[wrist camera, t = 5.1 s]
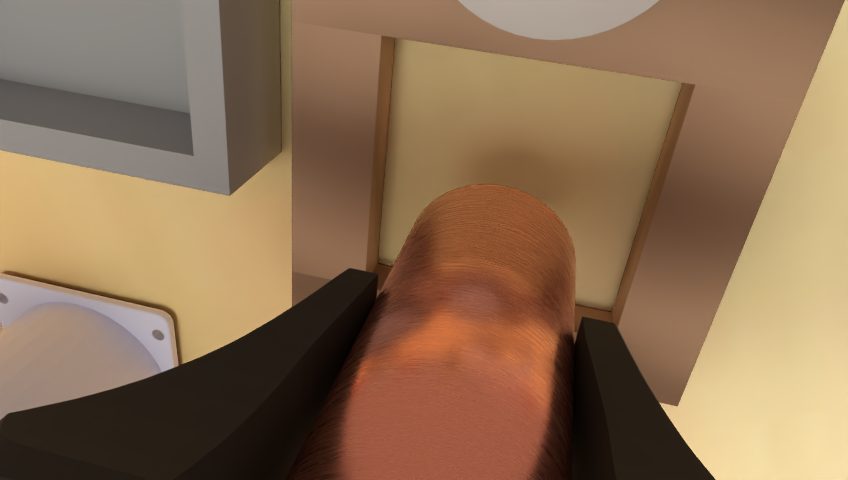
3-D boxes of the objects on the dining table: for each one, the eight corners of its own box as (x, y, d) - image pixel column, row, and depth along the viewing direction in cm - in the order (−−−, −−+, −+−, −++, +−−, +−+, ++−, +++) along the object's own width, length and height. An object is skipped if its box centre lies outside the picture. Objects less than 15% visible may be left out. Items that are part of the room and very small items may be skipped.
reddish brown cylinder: (556, 344, 16) (531, 774, 8) (401, 311, 16) (240, 684, 9) (593, 202, 14) (607, 591, 6) (416, 169, 14) (224, 488, 7)
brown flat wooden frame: (671, 375, 21) (688, 467, 18) (308, 296, 23) (260, 366, 20) (917, -251, 13) (1036, -302, 10) (316, -300, 15) (235, -358, 11)
